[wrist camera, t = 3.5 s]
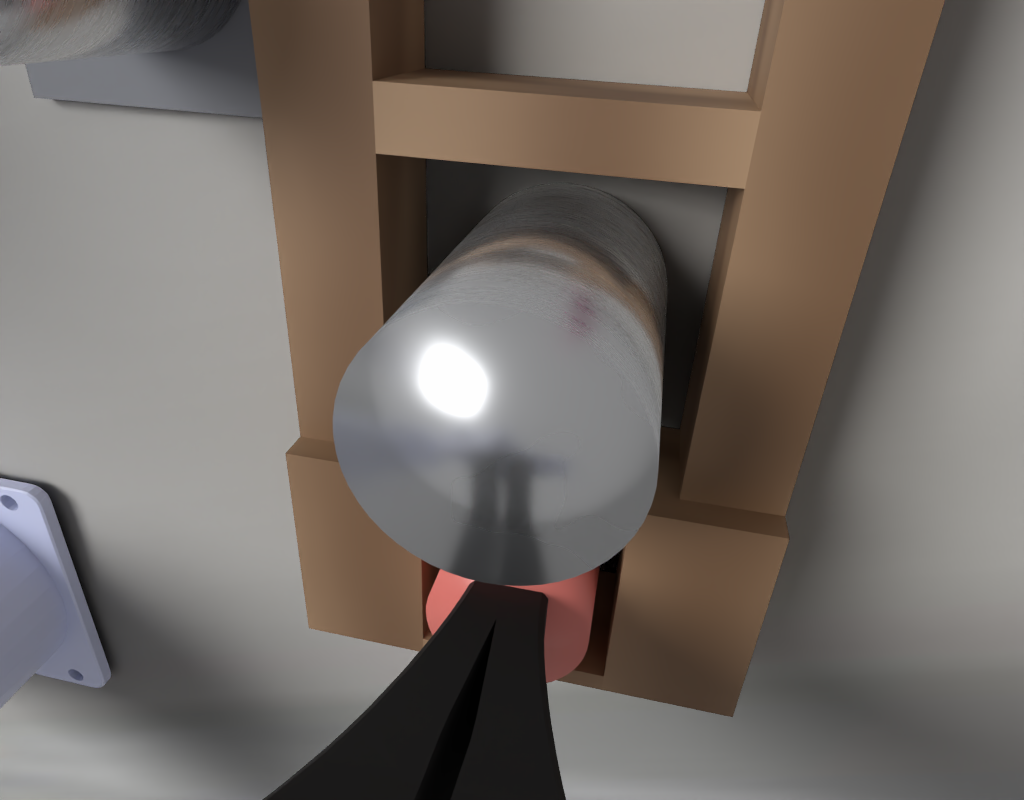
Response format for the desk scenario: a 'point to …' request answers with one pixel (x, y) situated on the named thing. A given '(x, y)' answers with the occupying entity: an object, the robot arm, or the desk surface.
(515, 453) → the billet seated
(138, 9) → the cylinder
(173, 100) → the mat
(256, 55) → the wooden compartment tray
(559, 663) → the button
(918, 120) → the desk surface
